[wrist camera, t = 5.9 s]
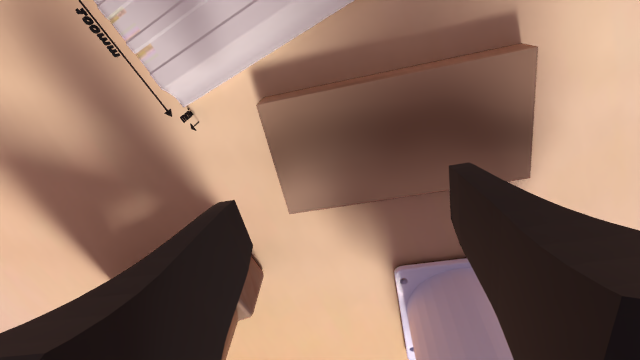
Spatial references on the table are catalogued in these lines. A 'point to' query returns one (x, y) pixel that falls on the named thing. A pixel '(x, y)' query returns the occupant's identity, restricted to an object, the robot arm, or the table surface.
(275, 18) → the baseboard
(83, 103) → the table surface
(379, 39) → the table surface
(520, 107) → the plank
